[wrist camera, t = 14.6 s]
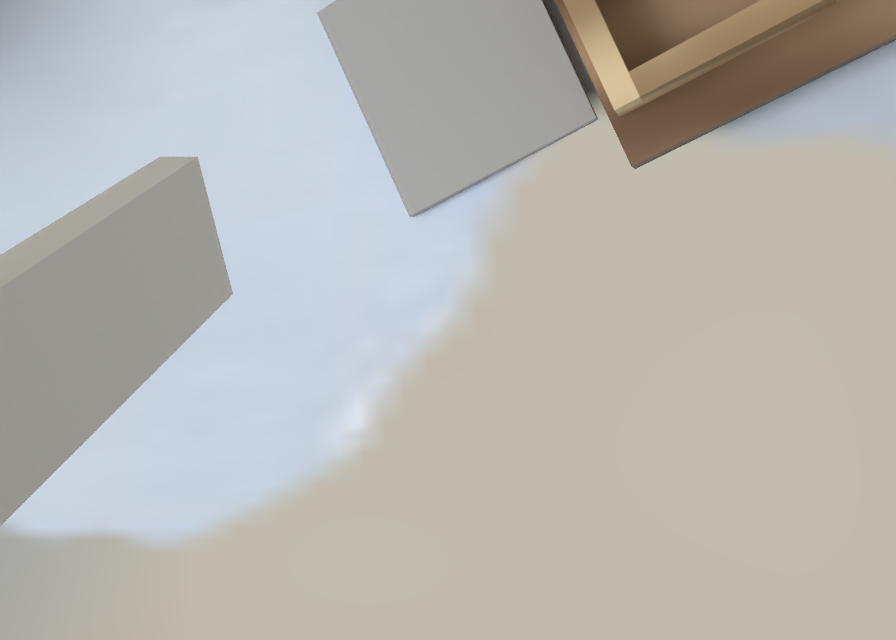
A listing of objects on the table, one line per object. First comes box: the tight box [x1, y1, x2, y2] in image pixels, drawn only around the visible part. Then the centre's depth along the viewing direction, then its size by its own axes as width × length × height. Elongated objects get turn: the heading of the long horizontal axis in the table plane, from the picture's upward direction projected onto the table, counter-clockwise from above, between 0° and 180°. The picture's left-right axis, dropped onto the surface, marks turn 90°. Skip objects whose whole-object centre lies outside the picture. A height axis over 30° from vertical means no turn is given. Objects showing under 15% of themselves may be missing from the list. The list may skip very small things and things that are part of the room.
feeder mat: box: [317, 0, 598, 217], centre depth 35 cm, size 10×9×1 cm
